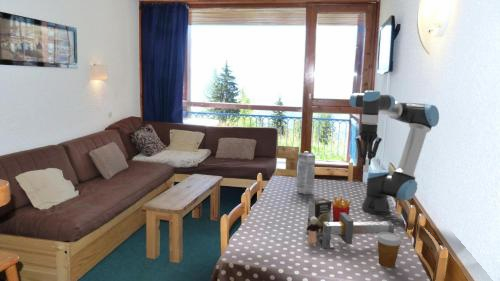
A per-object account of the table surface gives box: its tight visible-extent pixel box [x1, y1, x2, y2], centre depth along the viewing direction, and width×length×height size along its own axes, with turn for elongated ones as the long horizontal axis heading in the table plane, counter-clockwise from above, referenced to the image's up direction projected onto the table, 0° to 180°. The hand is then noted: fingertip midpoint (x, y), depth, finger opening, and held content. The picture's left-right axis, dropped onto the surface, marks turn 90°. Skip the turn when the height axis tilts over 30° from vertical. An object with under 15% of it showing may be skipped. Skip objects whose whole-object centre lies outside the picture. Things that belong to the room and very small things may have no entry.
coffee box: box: [306, 198, 332, 237], centre depth 190 cm, size 9×6×16 cm
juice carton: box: [296, 150, 316, 195], centre depth 255 cm, size 9×10×27 cm
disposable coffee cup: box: [376, 232, 402, 269], centre depth 160 cm, size 10×10×12 cm
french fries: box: [330, 196, 352, 222], centre depth 200 cm, size 9×8×15 cm
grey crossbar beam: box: [317, 220, 395, 250], centre depth 178 cm, size 34×8×10 cm, turn 97°
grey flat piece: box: [337, 213, 355, 245], centre depth 177 cm, size 2×10×10 cm, turn 7°
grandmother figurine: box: [304, 217, 321, 246], centre depth 177 cm, size 8×4×13 cm, turn 119°
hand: (365, 171), depth 193 cm, fingers closed
